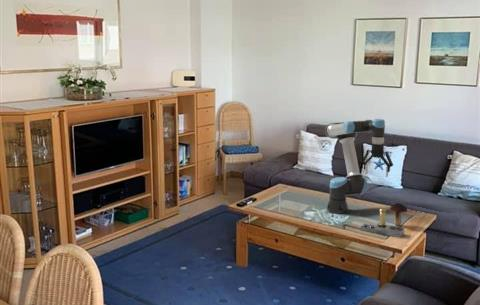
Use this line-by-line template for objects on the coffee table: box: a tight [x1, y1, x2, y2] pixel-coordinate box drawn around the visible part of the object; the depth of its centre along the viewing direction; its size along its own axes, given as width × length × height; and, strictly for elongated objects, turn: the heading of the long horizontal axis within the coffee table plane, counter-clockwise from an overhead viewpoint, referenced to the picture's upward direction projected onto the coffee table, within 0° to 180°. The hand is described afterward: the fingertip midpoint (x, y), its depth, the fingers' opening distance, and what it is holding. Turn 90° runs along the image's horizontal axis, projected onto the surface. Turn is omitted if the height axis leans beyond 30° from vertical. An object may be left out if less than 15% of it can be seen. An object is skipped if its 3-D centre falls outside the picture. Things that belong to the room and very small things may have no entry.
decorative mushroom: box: [389, 202, 408, 227], centre depth 319 cm, size 11×11×15 cm
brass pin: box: [378, 208, 387, 228], centre depth 308 cm, size 4×4×15 cm
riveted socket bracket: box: [360, 222, 405, 238], centre depth 309 cm, size 25×7×5 cm, turn 57°
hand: (376, 175), depth 322 cm, fingers open, 13 cm apart
